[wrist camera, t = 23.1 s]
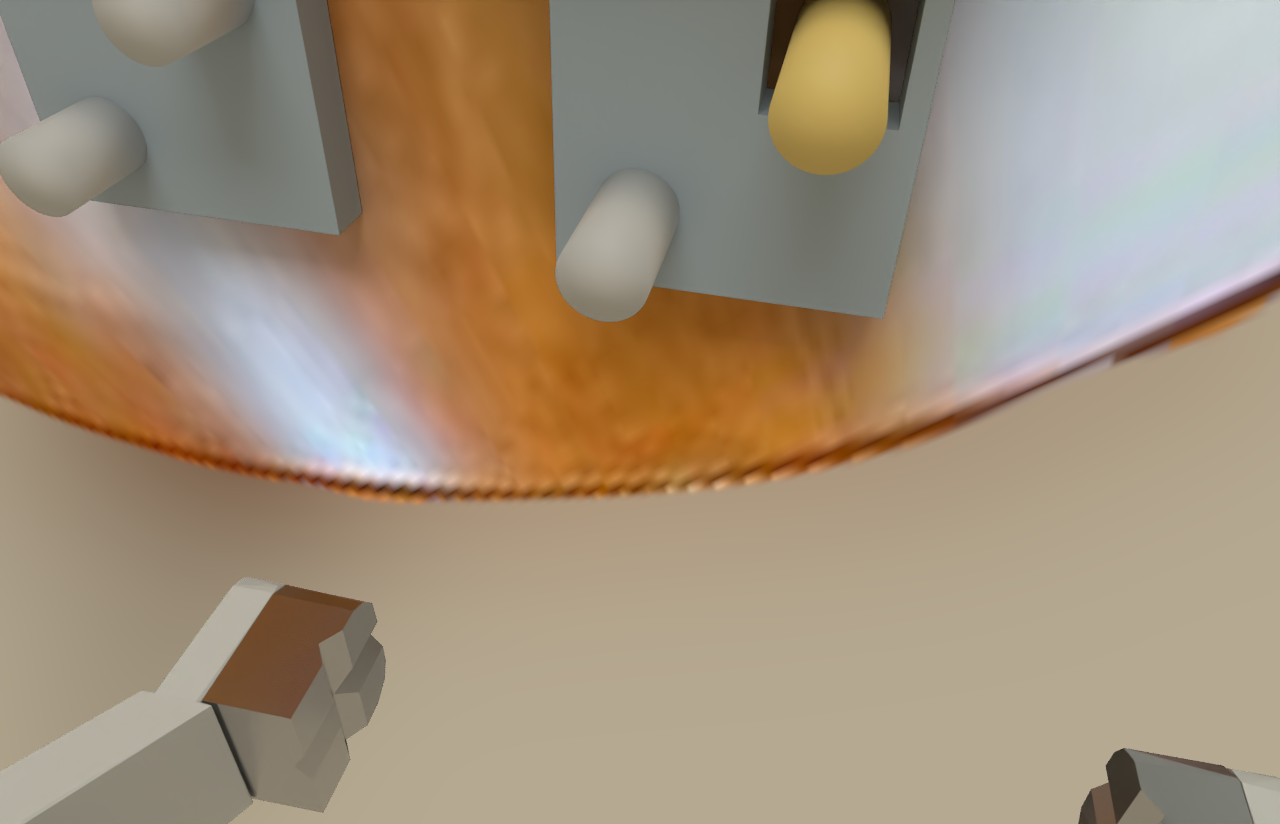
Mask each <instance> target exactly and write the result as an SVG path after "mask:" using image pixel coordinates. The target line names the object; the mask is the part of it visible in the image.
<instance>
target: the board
mask: <svg viewBox="0 0 1280 824" xmlns="http://www.w3.org/2000/svg"><path fill="white" fill-rule="evenodd" d="M0 15H1V18H2V20H3V23H4V26H5V29H6V31H7V34H8V37H9V39H10V42H11V45H12V47H13V50H14V53H15V55H16V58H17V61H18V63H19V66H20V69H21V71H22V74H23V77H24V79H25V82H26V85H27V87H28V90H29V93H30V95H31V98H32V101H33V103H34V106H35V109H36V111H37V114H38V117H39V119H40V122H38V123H36V124H35V125H33V126H31V127H29V128H27V129H25V130H23V131H21V132H19V133H17V134H15V135H13V136H11V137H10V138H8V139H6V140H4V141H3V142H2V143H1V144H0V173H1V175H2V178H3V179H4V181H5V183H6V184H7V186H8V187H9V188H10V190H11V191H12V192H13V193H14V194H15V195H16V196H17V197H18V198H19V199H20V200H21V201H22V202H23V203H25V204H26V205H27V206H29V207H30V208H32V209H33V210H35V211H37V212H39V213H42V214H44V215H48V216H53V217H62V216H66V215H68V214H70V213H71V212H73V211H74V210H76V209H77V208H79V207H80V206H82V205H83V204H85V203H87V202H88V201H90V200H91V201H98V202H106V203H113V204H120V205H127V206H134V207H141V208H148V209H155V210H163V211H170V212H177V213H184V214H191V215H198V216H205V217H212V218H220V219H227V220H234V221H241V222H248V223H255V224H262V225H269V226H277V227H284V228H291V229H298V230H305V231H312V232H319V233H326V234H334V235H340V234H341V233H342V232H343V231H344V230H345V229H346V228H347V227H348V226H349V225H350V224H351V223H352V222H353V221H354V220H355V219H356V218H357V217H358V216H359V215H360V214H361V213H362V209H361V203H360V197H359V191H358V185H357V179H356V173H355V167H354V161H353V155H352V149H351V143H350V137H349V131H348V125H347V119H346V113H345V107H344V101H343V95H342V89H341V83H340V77H339V71H338V65H337V59H336V53H335V47H334V41H333V35H332V29H331V23H330V17H329V11H328V5H327V0H0Z"/></svg>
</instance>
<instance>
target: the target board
mask: <svg viewBox="0 0 1280 824" xmlns="http://www.w3.org/2000/svg"><path fill="white" fill-rule="evenodd" d="M549 3H550V39H551V75H552V111H553V148H554V184H555V220H556V256H557V263H556V269H555V276H556V282H557V286H558V288H559V291H560V293H561V294H562V296H563V298H564V299H565V300H566V302H567V303H568V304H569V305H570V306H571V307H572V308H573V309H575V310H576V311H577V312H579V313H580V314H582V315H584V316H586V317H588V318H591V319H594V320H597V321H603V322H616V321H621V320H625V319H627V318H630V317H631V316H633V315H635V314H636V313H637V312H638V311H639V310H640V309H641V308H642V307H643V306H644V304H645V303H646V300H647V298H648V296H649V293H650V291H651V289H652V286H653V287H660V288H667V289H674V290H682V291H689V292H696V293H703V294H710V295H717V296H724V297H731V298H738V299H745V300H752V301H759V302H766V303H773V304H780V305H788V306H795V307H802V308H809V309H816V310H823V311H830V312H837V313H844V314H851V315H858V316H865V317H872V318H879V319H883V318H884V313H885V309H886V304H887V300H888V295H889V291H890V287H891V282H892V278H893V273H894V269H895V264H896V260H897V256H898V251H899V247H900V242H901V238H902V234H903V229H904V225H905V220H906V216H907V211H908V207H909V203H910V198H911V194H912V189H913V185H914V181H915V176H916V172H917V167H918V163H919V158H920V154H921V150H922V145H923V141H924V136H925V132H926V127H927V123H928V119H929V114H930V110H931V105H932V101H933V97H934V92H935V88H936V83H937V79H938V74H939V70H940V66H941V61H942V57H943V52H944V48H945V43H946V39H947V35H948V30H949V26H950V21H951V17H952V13H953V8H954V4H955V0H920V3H919V8H918V13H917V18H916V23H915V28H914V33H913V38H912V43H911V48H910V52H909V57H908V62H907V67H906V72H905V77H904V82H903V87H902V92H901V96H900V101H899V102H891V101H888V120H887V127H886V131H885V134H884V136H883V139H882V141H881V143H880V144H879V146H878V148H877V149H876V150H875V152H874V153H873V154H872V155H871V156H870V157H869V158H868V159H867V160H866V161H864V162H863V163H862V164H860V165H859V166H857V167H855V168H853V169H851V170H849V171H846V172H843V173H839V174H834V175H818V174H812V173H809V172H805V171H803V170H801V169H798V168H796V167H795V166H793V165H792V164H790V163H789V162H788V161H787V160H785V159H784V157H783V156H782V155H781V154H780V153H779V151H778V150H777V149H776V147H775V145H774V143H773V141H772V138H771V136H770V131H769V125H768V113H769V107H770V103H771V100H772V97H773V94H774V91H775V89H770V88H767V82H768V74H769V65H770V56H771V47H772V39H773V30H774V21H775V13H776V4H777V0H549Z"/></svg>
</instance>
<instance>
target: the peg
mask: <svg viewBox="0 0 1280 824" xmlns="http://www.w3.org/2000/svg"><path fill="white" fill-rule="evenodd" d="M891 32H892V18H891V12H890V8H889V5H888V3H887V1H886V0H805V2H804V3H803V5H802V7H801V9H800V11H799V14H798V18H797V21H796V24H795V27H794V30H793V33H792V37H791V40H790V43H789V46H788V49H787V53H786V56H785V59H784V62H783V65H782V68H781V72H780V75H779V78H778V81H777V84H776V88H775V91H774V94H773V97H772V100H771V103H770V107H769V113H768V125H769V131H770V136H771V138H772V141H773V143H774V145H775V147H776V149H777V150H778V151H779V153H780V154H781V155H782V156H783V157H784V159H785V160H787V161H788V162H789V163H790V164H792V165H793V166H795V167H796V168H798V169H801V170H803V171H805V172H809V173H812V174H818V175H834V174H839V173H843V172H846V171H849V170H851V169H853V168H855V167H857V166H859V165H860V164H862V163H863V162H864V161H866V160H867V159H868V158H869V157H870V156H871V155H872V154H873V153H874V152H875V150H876V149H877V148H878V146H879V144H880V143H881V141H882V139H883V136H884V134H885V131H886V127H887V120H888V100H889V77H890V55H891Z"/></svg>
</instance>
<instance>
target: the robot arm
mask: <svg viewBox="0 0 1280 824" xmlns="http://www.w3.org/2000/svg"><path fill="white" fill-rule="evenodd" d="M376 623H377V619H376V615H375V612H374V608H373V605H372V603H369V602H364V601H360V600H355V599H350V598H346V597H341V596H336V595H331V594H326V593H321V592H317V591H313V590H308V589H303V588H298V587H294V586H289V585H286V584H280V583H276V582H271V581H266V580H260V579H255V578H250V577H245V578H243V579H242V580H240V581H239V582H237V583H236V584H235V585H233V586H232V587H231V588H230V589H229V591H228V592H227V593H226V595H225V596H224V598H223V599H222V600H221V602H220V603H219V605H218V606H217V607H216V609H215V610H214V611H213V613H212V614H211V615H210V617H209V618H208V620H207V621H206V622H205V624H204V625H203V626H202V628H201V629H200V631H199V632H198V633H197V635H196V636H195V637H194V639H193V640H192V641H191V643H190V644H189V646H188V647H187V648H186V650H185V651H184V652H183V654H182V655H181V656H180V658H179V659H178V661H177V662H176V664H175V665H174V666H173V667H172V669H171V670H170V672H169V673H168V674H167V676H166V677H165V678H164V680H163V681H162V683H161V684H160V685H159V687H158V688H157V689H156V691H155V692H152V691H146V690H142V691H140V692H138V693H136V694H135V695H133V696H131V697H129V698H128V699H126V700H124V701H122V702H121V703H119V704H117V705H115V706H114V707H112V708H110V709H108V710H107V711H105V712H103V713H101V714H100V715H98V716H96V717H95V718H93V719H91V720H89V721H88V722H86V723H84V724H82V725H80V726H79V727H77V728H75V729H74V730H72V731H70V732H68V733H67V734H65V735H64V736H61V737H60V738H58V739H56V740H54V741H53V742H51V743H49V744H47V745H46V746H44V747H42V748H40V749H39V750H37V751H35V752H33V753H32V754H30V755H28V756H26V757H25V758H23V759H21V760H19V761H18V762H16V763H14V764H12V765H11V766H9V767H7V768H6V769H4V770H2V771H0V824H228V823H229V822H230V821H232V820H233V819H234V818H235V817H237V816H238V815H239V814H240V813H241V812H243V810H245V809H246V808H248V807H249V806H250V805H251V804H252V803H253V801H252V798H253V799H258V800H263V801H268V802H273V803H278V804H283V805H288V806H293V807H298V808H303V809H308V810H313V811H318V812H324V810H325V808H326V806H327V804H328V802H329V800H330V798H331V796H332V795H333V793H334V790H335V788H336V787H337V785H338V782H339V781H340V779H341V777H342V775H343V772H344V771H345V769H346V767H347V765H348V763H349V761H350V756H349V751H348V746H347V742H346V739H347V738H349V737H350V736H352V735H353V734H355V733H356V732H358V731H359V730H361V729H362V728H364V727H365V726H367V725H368V723H369V721H370V719H371V717H372V714H373V712H374V710H375V708H376V706H377V704H378V701H379V698H380V694H381V690H382V687H383V683H384V679H385V662H386V660H385V655H384V650H383V646H382V645H381V644H380V643H379V642H378V641H377V640H376V639H375V638H374V637H373V636H372V635H371V633H372V631H373V629H374V627H375V625H376ZM1106 770H1107V776H1108V781H1109V783H1106V784H1103V785H1101V786H1098V787H1096V788H1093V789H1091V791H1090V792H1089V794H1088V796H1087V798H1086V800H1085V802H1084V804H1083V805H1082V807H1081V812H1080V818H1079V823H1078V824H1280V778H1278V777H1274V776H1268V775H1262V774H1256V773H1251V772H1245V771H1239V770H1233V769H1228V768H1225V767H1224V766H1222V765H1216V764H1210V763H1205V762H1199V761H1193V760H1188V759H1183V758H1177V757H1171V756H1166V755H1160V754H1154V753H1149V752H1143V751H1138V750H1132V749H1127V748H1123V749H1121V750H1118V751H1116V752H1115V753H1114V754H1113V755H1112V757H1111V758H1110V760H1109V761H1108V763H1107V765H1106Z"/></svg>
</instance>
